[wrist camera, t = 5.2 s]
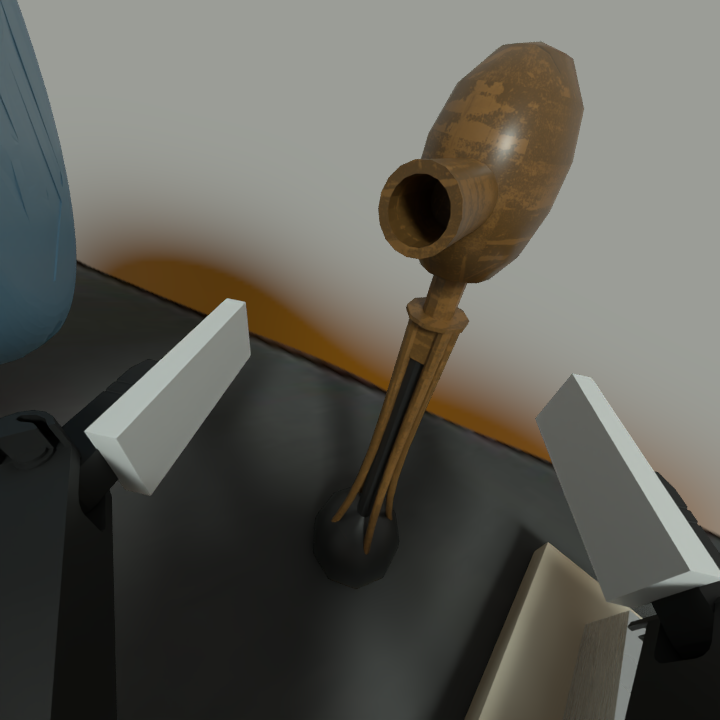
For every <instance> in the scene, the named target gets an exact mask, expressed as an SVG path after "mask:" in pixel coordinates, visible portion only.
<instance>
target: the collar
mask: <svg viewBox="0 0 720 720" xmlns="http://www.w3.org/2000/svg"><path fill="white" fill-rule="evenodd" d="M639 619H640V618H639V617H638V616H636V615H635V614H634V613H633V612H631V611H630V610H629V611H626V612H622V613H619V614H616V615H613V616H610V617H607V618H604V619H601V620H598V621H594V622H591V623H588V624H585V627H584V631H583V635H582V640H581V644H580V648H579V652H578V656H577V661H576V665H575V669H574V673H573V678H572V682H571V686H570V690H569V695H568V699H567V703H566V707H565V711H564V716H563V720H625V715H626V711H627V707H628V703H629V699H630V694H631V690H632V686H633V682H634V678H635V673H636V669H637V665H638V661H639V656H640V652H641V648H642V644H643V641H642V640H641V639H639V638H638V636H640V635H643V634H645V631H646V628H642V629H638V630H634V631H631V630H630V629H629V628H628V625H629V624H630V622H632V621H636V620H639Z"/></svg>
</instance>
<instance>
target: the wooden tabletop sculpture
mask: <svg viewBox="0 0 720 720" xmlns="http://www.w3.org/2000/svg"><path fill="white" fill-rule="evenodd" d="M583 110H584V107H583V102H582V98H581V93H580V88H579V84H578V80H577V75H576V70H575V65H574V61H573V58H571V57H570V56H568V55H567V54H565V53H563V52H561V51H559V50H557V49H555V48H553V47H551V46H549V45H547V44H545V43H543V42H529V43H515V44H507V45H502V46H501V47H499V48H498V49H497V50H496V51H494V52H493V53H492V54H491V55H490V56H488V57H487V58H486V59H485V60H484V61H483V62H481V63H480V64H479V65H478V66H477V67H476V68H474V69H473V70H472V71H471V72H470V73H469V74H467V75H466V76H465V77H464V78H463V79H462V80H461V81H459V82H458V83H457V85H456V86H455V88H454V90H453V92H452V94H451V95H450V97H449V99H448V100H447V102H446V104H445V106H444V107H443V109H442V111H441V113H440V114H439V116H438V118H437V120H436V121H435V123H434V125H433V127H432V128H431V130H430V132H429V134H428V137H427V141H426V144H425V147H424V151H423V154H422V157H421V159H415V160H412V161H410V162H408V163H406V164H403V165H401V166H400V167H399V168H398V169H397V170H396V171H395V172H394V173H393V174H392V175H391V176H390V177H389V178H388V180H387V182H386V184H385V186H384V188H383V190H382V192H381V197H380V202H379V208H378V209H379V221H380V226H381V229H382V231H383V233H384V236H385V239H386V240H387V241H388V242H389V244H390V245H391V246H392V247H393V248H394V250H396V251H398V252H399V253H401V254H403V255H404V256H406V257H410V258H416V259H419V261H420V263H421V265H422V266H423V267H424V268H425V269H426V270H427V271H428V272H429V273H431V274H433V275H434V276H433V279H432V282H431V285H430V288H429V291H428V294H427V297H424V298H414V299H413V300H412V301H411V302H409V303H408V304H407V307H406V309H407V312H408V315H409V322H408V325H407V328H406V331H405V335H404V338H403V341H402V344H401V348H400V351H399V354H398V357H397V361H396V364H395V367H394V371H393V374H392V377H391V380H390V384H389V387H388V390H387V393H386V397H385V400H384V403H383V407H382V410H381V413H380V416H379V419H378V422H377V425H376V428H375V431H374V434H373V437H372V440H371V443H370V446H369V449H368V451H367V453H366V456H365V458H364V461H363V463H362V466H361V468H360V471H359V473H358V476H357V478H356V480H355V482H354V484H353V486H352V487H351V488H347V489H344V490H340V491H337V492H335V493H333V495H332V496H331V497H330V499H329V500H328V501H327V503H326V504H325V505H324V506H323V508H322V509H321V510H320V512H319V513H318V515H317V517H316V519H315V528H314V544H313V553H314V555H315V556H316V558H317V560H318V561H319V563H320V565H321V567H322V568H323V570H324V572H325V573H326V575H327V577H328V579H331V580H334V581H336V582H339V583H341V584H344V585H347V586H349V587H352V588H355V589H358V588H360V587H362V586H365V585H367V584H369V583H372V582H374V581H376V580H379V579H381V578H383V576H384V574H385V572H386V570H387V568H388V566H389V564H390V562H391V560H392V558H393V556H394V554H395V552H396V550H397V548H398V545H399V536H398V529H397V521H396V514H395V512H394V510H393V509H392V506H393V498H394V494H395V490H396V486H397V482H398V478H399V476H400V473H401V470H402V467H403V464H404V461H405V458H406V455H407V453H408V450H409V448H410V445H411V443H412V441H413V438H414V436H415V433H416V431H417V429H418V426H419V424H420V422H421V419H422V417H423V414H424V412H425V410H426V408H427V405H428V403H429V401H430V398H431V396H432V394H433V392H434V389H435V387H436V385H437V383H438V381H439V379H440V376H441V374H442V372H443V370H444V367H445V365H446V363H447V360H448V358H449V356H450V354H451V352H452V349H453V347H454V345H455V343H456V341H457V338H458V336H459V334H460V333H462V331H463V330H464V329H465V327H466V326H467V325H468V322H469V320H468V318H467V317H466V315H465V313H464V311H463V310H461V309H459V308H458V304H459V302H460V299H461V297H462V294H463V292H464V289H465V287H466V285H467V283H479V282H482V281H485V280H488V279H490V278H491V277H493V276H494V275H495V274H497V273H498V272H499V271H501V270H502V269H503V268H504V267H506V266H507V265H508V264H510V263H511V262H512V261H513V260H515V259H516V258H517V257H518V256H519V254H520V253H521V252H522V250H523V249H524V248H525V246H526V245H527V243H528V242H529V241H530V239H531V238H532V236H533V235H534V233H535V232H536V231H537V229H538V228H539V226H540V225H541V223H542V222H543V220H544V219H545V218H546V216H547V215H548V214H549V212H550V210H551V208H552V206H553V203H554V201H555V199H556V197H557V195H558V193H559V191H560V188H561V186H562V184H563V182H564V180H565V177H566V175H567V173H568V171H569V169H570V167H571V164H572V162H573V157H574V153H575V148H576V144H577V139H578V134H579V130H580V125H581V120H582V116H583ZM387 489H388V491H387ZM386 492H387V496H386V500H385V499H384V497H385V494H386Z"/></svg>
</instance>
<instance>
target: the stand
mask: <svg viewBox="0 0 720 720" xmlns="http://www.w3.org/2000/svg"><path fill="white" fill-rule="evenodd" d="M629 610H630V611H631V612H633V613H634V614H635V615H636V616H638V617H639V618H640V619H643V618H641V617H640V616H639V615H638V614H636V613H635V612H634V611H633V610H632V609H630V608H629V607H626V606H622V605H617V604H613V603H609V602H606V600H605V598H604V595H603V592H602V590H601V587H600V585H599V583H598V582H597V581H596V580H594V579H593V578H592V577H591V576H589V575H588V574H587V573H586V572H584V571H583V570H582V569H581V568H579V567H578V566H577V565H576V564H574V563H573V562H572V561H571V560H570V559H568V558H567V557H566V556H565V555H563V554H562V553H561V552H560V551H558V550H557V549H556V548H555V547H553V546H552V545H551V544H550V543H548V542H547V543H546V544H545V545H543V546H542V547H540V548H539V549H537V550H536V551H534V554H533V556H532V558H531V561H530V563H529V566H528V568H527V570H526V573H525V575H524V578H523V580H522V582H521V585H520V587H519V590H518V592H517V594H516V597H515V599H514V602H513V604H512V606H511V609H510V611H509V614H508V616H507V618H506V621H505V623H504V626H503V628H502V630H501V633H500V635H499V638H498V640H497V642H496V645H495V647H494V650H493V652H492V654H491V657H490V659H489V662H488V664H487V666H486V669H485V671H484V674H483V676H482V678H481V681H480V683H479V686H478V688H477V690H476V693H475V695H474V698H473V700H472V702H471V705H470V707H469V710H468V712H467V714H466V717H465V719H464V720H563V716H564V711H565V707H566V703H567V699H568V695H569V690H570V686H571V682H572V678H573V673H574V669H575V665H576V661H577V656H578V652H579V648H580V644H581V640H582V635H583V631H584V627H585V624H588V623H591V622H594V621H598V620H601V619H604V618H607V617H610V616H613V615H616V614H619V613H622V612H626V611H629Z"/></svg>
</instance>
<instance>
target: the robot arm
mask: <svg viewBox="0 0 720 720" xmlns="http://www.w3.org/2000/svg"><path fill="white" fill-rule="evenodd" d="M75 281H76V239H75V229H74V219H73V212H72V204H71V198H70V191H69V185H68V180H67V175H66V170H65V165H64V160H63V155H62V150H61V145H60V141H59V137H58V133H57V129H56V125H55V121H54V118H53V114H52V110H51V107H50V102H49V99H48V95H47V92H46V88H45V85H44V81H43V78H42V75H41V72H40V69H39V65H38V62H37V59H36V55H35V52H34V49H33V46H32V43H31V40H30V37H29V34H28V31H27V28H26V25H25V22H24V19H23V16H22V13H21V10H20V8H19V5H18V2H17V0H0V364H4V363H8V362H11V361H15V360H17V359H20V358H22V357H24V356H25V355H26V354H28V353H30V352H32V351H34V350H35V349H37V348H39V347H40V346H41V345H43V344H44V343H46V342H47V341H48V340H49V339H50V338H51V337H53V336H54V335H55V334H56V333H57V332H58V331H59V330H60V328H61V327H62V325H63V324H64V322H65V320H66V317H67V315H68V313H69V311H70V307H71V304H72V300H73V295H74V289H75ZM250 356H251V352H250V342H249V332H248V322H247V312H246V303H245V302H242V301H237V300H233V299H229V298H227V299H225V300H224V301H223V302H222V303H221V304H220V305H219V306H218V307H217V308H216V309H215V310H214V311H213V312H212V313H210V314H209V315H208V316H207V317H206V318H205V319H204V320H203V321H202V322H201V323H200V324H199V325H198V326H196V327H195V328H194V329H193V330H192V331H191V332H190V333H189V334H188V335H187V336H186V337H185V338H184V339H183V340H181V341H180V342H179V343H178V344H177V345H176V346H175V347H174V348H173V349H172V350H171V351H170V352H169V353H168V354H166V355H165V356H164V357H163V358H162V359H161V360H160V361H155V360H150V359H147V360H145V361H143V362H141V363H139V364H137V365H135V366H133V367H131V368H130V369H129V370H127V371H126V372H125V373H124V374H123V375H122V376H120V377H119V378H118V379H117V382H114V383H112V384H111V385H110V386H109V387H108V388H107V389H106V391H105V392H104V391H103V392H102V393H101V394H100V395H98V396H97V397H96V398H95V399H94V400H93V401H91V402H90V403H89V404H88V405H87V406H86V407H85V408H83V409H82V410H81V411H80V412H79V413H78V414H76V415H75V416H74V417H73V418H72V419H71V420H69V421H68V422H67V423H66V424H65V425H64V426H62V427H61V426H60V425H59V424H58V422H57V421H56V420H55V418H54V417H53V416H52V415H50V414H48V413H47V412H44V411H36V410H31V411H24V412H18V413H15V414H11V415H8V416H5V417H2V418H0V720H117V708H116V664H115V620H114V577H113V533H112V496H111V493H110V488H111V487H112V486H113V485H114V484H115V482H116V481H117V480H118V481H119V482H120V483H121V485H122V486H123V488H124V489H125V490H128V491H132V492H137V493H141V494H145V495H150V496H151V495H152V493H153V492H154V490H155V489H156V488H157V486H158V485H159V483H160V482H161V481H162V479H163V478H164V476H165V475H166V474H167V472H168V471H169V469H170V468H171V467H172V465H173V464H174V462H175V461H176V460H177V458H178V457H179V455H180V454H181V453H182V451H183V450H184V448H185V447H186V446H187V444H188V443H189V441H190V440H191V439H192V437H193V436H194V434H195V433H196V432H197V430H198V429H199V427H200V426H201V425H202V423H203V422H204V420H205V419H206V418H207V416H208V415H209V413H210V412H211V410H212V409H213V408H214V406H215V405H216V403H217V402H218V401H219V399H220V398H221V396H222V395H223V394H224V392H225V391H226V389H227V388H228V387H229V385H230V384H231V382H232V381H233V380H234V378H235V377H236V375H237V374H238V373H239V371H240V370H241V368H242V367H243V366H244V364H245V363H246V361H247V360H248V359H249V357H250ZM535 419H536V422H537V424H538V427H539V430H540V432H541V435H542V437H543V440H544V442H545V445H546V447H547V450H548V453H549V455H550V458H551V461H552V463H553V466H554V468H555V471H556V474H557V476H558V479H559V481H560V484H561V486H562V489H563V492H564V494H565V497H566V499H567V502H568V505H569V507H570V510H571V512H572V515H573V517H574V520H575V523H576V525H577V528H578V530H579V533H580V536H581V538H582V541H583V543H584V546H585V548H586V551H587V554H588V556H589V559H590V561H591V564H592V567H593V569H594V572H595V574H596V577H597V579H598V582H599V585H600V587H601V590H602V592H603V595H604V598H605V600H606V602H609V603H613V604H617V605H622V606H626V607H630V608H636V607H639V606H642V605H645V604H649V603H652V605H653V607H654V609H655V611H656V613H657V615H653V616H650V617H646V618H643V619H639V620H636V621H632V622H630V624H629V625H628V628H629V629H630V630H631V631H634V630H638V629H642V628H646V631H645V634H643V635H640V636H638V638H639V639H641V640H642V641H643V644H642V648H641V652H640V656H639V661H638V665H637V669H636V673H635V678H634V682H633V686H632V690H631V694H630V699H629V703H628V707H627V711H626V715H625V720H720V553H719V552H718V550H717V549H716V547H715V546H714V545H713V543H712V542H711V540H710V539H709V537H708V536H707V534H706V533H705V532H704V530H703V529H702V527H701V526H699V525H698V524H697V520H696V519H695V517H694V516H693V514H692V513H691V511H689V510H687V506H686V504H685V503H684V501H683V500H682V498H681V497H680V495H679V494H678V493H677V491H676V490H675V489H674V488H673V487H672V486H671V485H670V484H669V483H668V482H667V481H666V480H665V479H664V478H663V477H662V476H661V475H660V474H659V473H658V472H655V471H653V469H652V468H651V466H650V465H649V463H648V462H647V460H646V459H645V457H644V456H643V454H642V453H641V451H640V450H639V448H638V447H637V445H636V444H635V442H634V441H633V439H632V438H631V436H630V435H629V433H628V432H627V430H626V429H625V427H624V426H623V424H622V423H621V421H620V420H619V418H618V417H617V415H616V414H615V412H614V411H613V409H612V408H611V406H610V405H609V403H608V402H607V400H606V399H605V397H604V396H603V394H602V393H601V391H600V390H599V388H598V387H597V385H596V384H595V382H594V381H593V379H592V378H590V377H585V376H581V375H576V374H572V375H571V376H570V377H569V378H568V379H567V381H566V382H565V383H564V384H563V386H562V387H561V388H560V389H559V390H558V392H557V393H556V394H555V395H554V396H553V398H552V399H551V400H550V401H549V403H548V404H547V405H546V406H545V407H544V408H543V410H542V411H541V412H540V413H539V415H538V416H537V417H536V418H535Z"/></svg>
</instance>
